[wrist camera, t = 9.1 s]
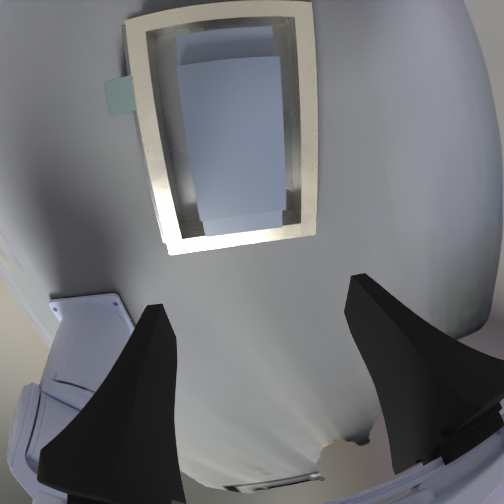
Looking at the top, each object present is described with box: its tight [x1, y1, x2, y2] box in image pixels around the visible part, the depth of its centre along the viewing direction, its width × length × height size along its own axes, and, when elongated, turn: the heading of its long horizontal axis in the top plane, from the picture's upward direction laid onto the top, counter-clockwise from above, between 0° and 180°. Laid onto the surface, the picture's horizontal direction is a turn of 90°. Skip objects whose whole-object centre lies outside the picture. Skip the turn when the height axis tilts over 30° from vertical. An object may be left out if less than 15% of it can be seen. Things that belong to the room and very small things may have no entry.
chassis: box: [104, 0, 319, 255], centre depth 15 cm, size 15×12×3 cm
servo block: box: [175, 26, 286, 238], centre depth 13 cm, size 10×4×6 cm, turn 4°
